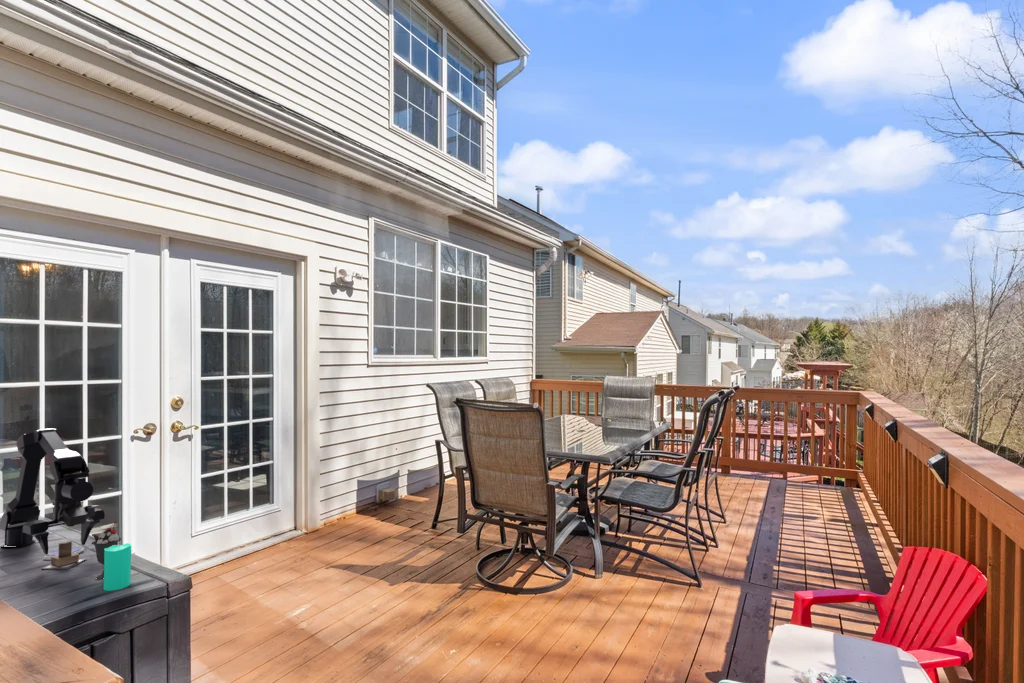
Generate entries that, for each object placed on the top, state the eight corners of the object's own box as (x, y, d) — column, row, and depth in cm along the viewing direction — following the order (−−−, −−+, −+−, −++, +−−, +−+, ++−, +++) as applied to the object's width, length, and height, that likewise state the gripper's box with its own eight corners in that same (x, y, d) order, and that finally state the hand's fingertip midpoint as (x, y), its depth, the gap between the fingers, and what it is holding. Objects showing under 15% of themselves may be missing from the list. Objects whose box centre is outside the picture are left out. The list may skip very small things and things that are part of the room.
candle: (136, 581, 147) (137, 537, 148) (118, 591, 141) (119, 545, 142) (116, 581, 148) (117, 537, 148) (97, 590, 142) (98, 544, 143)
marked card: (41, 569, 157) (41, 568, 157) (62, 560, 165) (62, 559, 165) (67, 569, 157) (67, 568, 157) (86, 559, 165) (86, 558, 165)
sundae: (126, 573, 154) (127, 520, 154) (101, 582, 147) (103, 527, 148) (110, 570, 156) (111, 518, 156) (85, 579, 149) (86, 525, 150)
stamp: (50, 564, 160) (51, 543, 160) (70, 559, 164) (71, 539, 165) (58, 567, 158) (59, 546, 158) (78, 562, 162) (79, 541, 162)
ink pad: (43, 559, 165) (43, 555, 165) (62, 551, 172) (62, 548, 172) (66, 559, 165) (66, 555, 165) (84, 551, 172) (84, 547, 172)
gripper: (40, 507, 150) (38, 564, 149) (115, 493, 166) (113, 544, 165) (22, 503, 155) (21, 557, 154) (97, 489, 172) (95, 539, 171)
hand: (65, 549), depth 161 cm, fingers open, 9 cm apart
